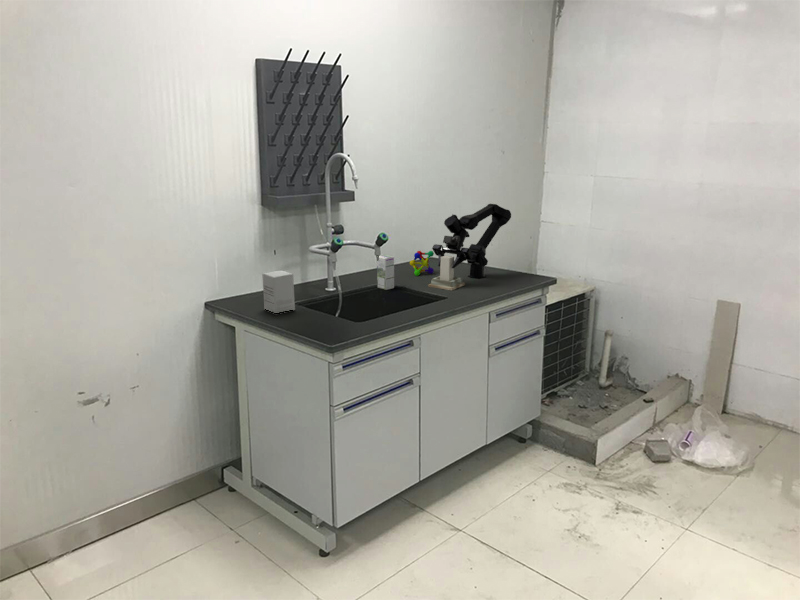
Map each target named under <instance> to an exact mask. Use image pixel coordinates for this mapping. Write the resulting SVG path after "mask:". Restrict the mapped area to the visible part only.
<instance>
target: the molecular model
mask: <svg viewBox="0 0 800 600" xmlns="http://www.w3.org/2000/svg"><path fill="white" fill-rule="evenodd" d="M434 254H435V253H434V251H433V250H429V251H428V252H422V251H421V250H418V251H416V252H415V253H414V256H413V257H414V258H413V259H411V260H410V261H409V265H410V266H411V267H412V268H413V269H414V272H413V274H414V276H416V277H418V276H420V274H421V273H422V272H426V273H428V274H433V273H434V268H433V267H431V265H430V264H429V262H430V261H429V259H430V258H431V257H433V256H434ZM425 255H427V257H424V256H425ZM417 259H419V260H420V261H417ZM417 265H421V266H419V267H418V266H417ZM424 267H426V268H427V269H423V268H424Z"/></svg>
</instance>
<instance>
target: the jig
mask: <svg viewBox="0 0 800 600" xmlns="http://www.w3.org/2000/svg"><path fill="white" fill-rule="evenodd" d="M430 281H431V283H429V284H427V286H428V287H429V288H435V289H442V290H446V291H447V290H448V291H455V290H456V289H459V288H461V287H464V286H466V282H463V277H459V276H454V280H452V281H446V280H440V275H439V276H436V277H433V278H431V279H430Z"/></svg>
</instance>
